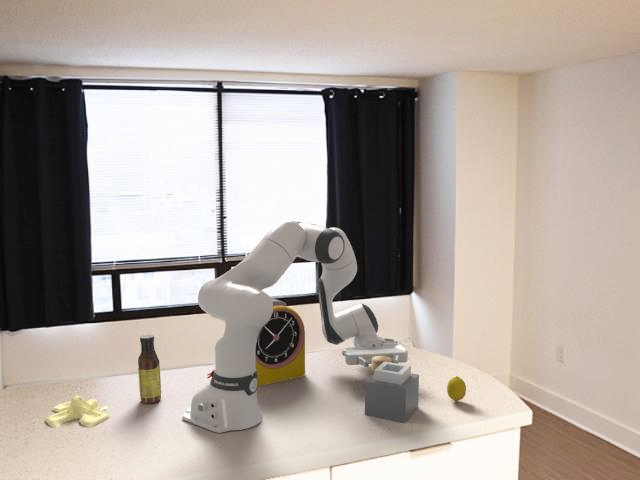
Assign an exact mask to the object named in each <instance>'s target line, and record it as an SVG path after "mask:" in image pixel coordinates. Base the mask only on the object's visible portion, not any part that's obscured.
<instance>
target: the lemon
mask: <svg viewBox="0 0 640 480" xmlns="http://www.w3.org/2000/svg"><path fill="white" fill-rule="evenodd" d="M446 386H447V387H446V392H447V395H448V397H449V399H451V400H453V402H456V403H458V401H460V400H463V399H464V398H465V396H466V393H467V388H466V387H467V386H466V382H465V381H464V379H462V378H461V377H459V376H456V375H455V376H454V377H451V378H450V379H449V380H448V382H447V385H446Z"/></svg>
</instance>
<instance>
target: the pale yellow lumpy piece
mask: <svg viewBox="0 0 640 480" xmlns="http://www.w3.org/2000/svg"><path fill="white" fill-rule="evenodd" d="M98 402H99V401H97V399H93V398H92V399H91V398H90V399H89V400H87V401H86V399H84V398H82V397H81V396H80V395H78V394H77V395H75V396H73V398H72V399H71V401H65V402H61V403H60V404H57V405H55V406H53V407H52V408H51V409H50V411H53V412H55V413H52V414H50V415H49V416H47V417H46V418H45V419H44V422H45V423H46V424H47V425H48V426H50V427H51V428H58V427H60V426H61V425H62V424H64V423H66V422H67V423H68V422H70V421H72V420H75V419H79V420H78V421H79V423H80V425H82V426H84V427H86V428H88V429H89V428H90V429H91V428H94V427H96V426H98V425H99V424H100V423H103V422H104V421H106V420H108V419H110V418H111V417H112V415H111V414H108V413H105V412H107V411H108V406H107V405H104V406H103V407H101V408H100V405H99V403H98ZM99 408H100V409H99ZM98 410H99V411H98Z"/></svg>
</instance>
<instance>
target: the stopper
mask: <svg viewBox="0 0 640 480" xmlns="http://www.w3.org/2000/svg"><path fill="white" fill-rule="evenodd" d="M391 361H392V359H391V358H390V357H386V356H376V357H373V358H372V364H371V376H372V375H373V374H374V370H375V369H376V368H377V367H378V366H380V365H381V364H382V363H383V362H391Z"/></svg>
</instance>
